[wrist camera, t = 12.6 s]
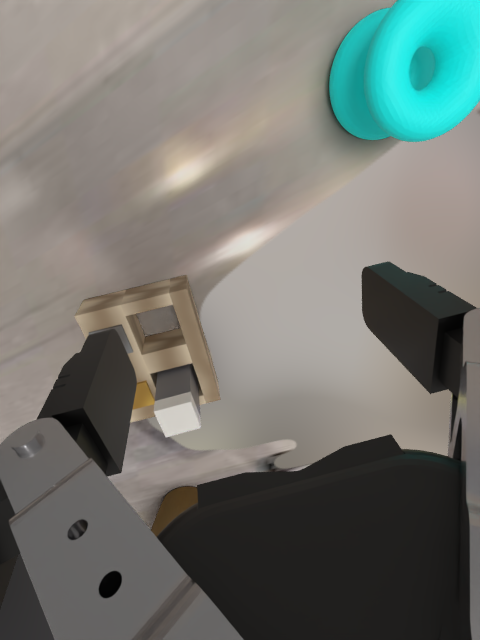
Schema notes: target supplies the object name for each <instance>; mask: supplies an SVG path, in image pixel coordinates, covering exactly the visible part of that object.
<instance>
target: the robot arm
mask: <svg viewBox="0 0 480 640" xmlns="http://www.w3.org/2000/svg"><path fill="white" fill-rule="evenodd" d="M362 312H363V317H364V321H365V323H366V325H367V327H368V328H369V329H370V330H371V332H373V334H374V335H375V336H376V337H377V338H378V339H379V340H380V341H381V342H382V343H383V344H384V345H385V346H386V347H387V348H388V349H389V350H390V352H391V353H392V354H393V355H394V356H395V357H396V358H397V359H398V360H399V361H400V362H401V363H402V364H403V365H404V366H405V367H406V369H407V370H408V371H409V372H410V373H411V374H412V375H413V376H414V377H415V378H416V379H417V380H418V381H419V382H420V383H421V384H422V385H423V387H424V388H425V389H426V390H427V391H428V392H429V393H430V394H431V393H435V392H439V391H443V390H447V389H449V390H450V391H451V392H452V397H451V404H450V424H449V444H448V456H444V455H440V454H437V453H433V452H427V451H421V450H409V449H401V448H400V447H399V445H398V444H397V442H396V441H395V439H394V438H393V436H392V435H387V436H383V437H379V438H375V439H372V440H368V441H364V442H360V443H357V444H352V445H349V446H345V447H343V448H341V449H339V450H337V451H335V452H334V453H332V454H330V455H328V456H326V457H325V458H323V459H321V460H319V461H317V462H315V463H313V464H312V465H310V466H308V467H306V468H304V469H302V470H299V471H292V472H248V473H242V474H238V475H234V476H230V477H227V478H223V479H219V480H215V481H211V482H208V483H204V484H200V485H197V492H198V503H196V504H194V505H192V506H191V507H189V508H188V509H186V510H185V511H183V512H182V513H180V514H179V515H178V516H177V517H176V518H175V519H173V520H172V521H171V522H170V523H169V524H168V525H167V526H166V527H165V528H164V529H163V530H162V531H161V532H160V533H159V535H158V536H157V537H156V536H155V535H154V534H153V532H152V531H151V530H150V529H149V527H148V526H147V525H146V524H145V523H144V521H143V520H142V519H141V518H140V516H139V515H138V514H137V513H136V512H135V510H134V509H133V508H132V507H131V505H130V504H129V503H128V502H127V501H126V499H125V498H124V497H123V496H122V494H121V493H120V492H119V491H118V490H117V488H116V487H115V486H114V485H113V483H112V482H111V481H110V480H109V479H108V477H107V476H111V475H114V474H118V473H121V471H122V466H123V460H124V454H125V449H126V443H127V438H128V432H129V426H130V421H131V415H132V410H133V404H134V398H135V393H136V387H137V379H136V374H135V370H134V367H133V365H132V363H131V361H130V358H129V356H128V354H127V352H126V349H125V347H124V345H123V343H122V341H121V338H120V336H119V334H118V332H117V331H116V330H115V329H109V330H105V331H101V332H97V333H93V334H89V335H88V337H87V339H86V341H85V343H84V345H83V348H82V350H81V352H80V353H76V354H75V355H74V356H73V357H72V358H71V359H70V360H69V361H68V362H67V363H66V364H65V365H64V366H63V368H62V370H61V372H60V374H59V376H58V379H57V380H56V382H55V384H54V386H53V389H52V390H51V392H50V394H49V396H48V398H47V400H46V402H45V404H44V406H43V408H42V410H41V412H40V414H39V416H38V418H37V420H34V421H32V422H29V423H27V424H25V425H23V426H22V427H20V428H18V429H17V430H16V431H14V432H13V433H12V434H10V435H9V436H8V437H7V438H6V439H5V440H4V441H3V442H2V443H1V444H0V608H1V605H2V602H3V599H4V596H5V593H6V590H7V587H8V584H9V581H10V578H11V575H12V572H13V569H14V566H15V563H16V560H17V557H18V554H20V553H21V555H22V558H23V561H24V563H25V566H26V568H27V570H28V573H29V575H30V578H31V581H32V583H33V586H34V588H35V591H36V593H37V596H38V598H39V601H40V604H41V606H42V608H43V611H44V614H45V616H46V619H47V621H48V624H49V626H50V629H51V631H52V633H53V636H54V639H55V640H480V308H476V307H474V306H473V305H471V304H469V303H468V302H466V301H464V300H463V299H461V298H459V297H458V296H456V295H454V294H453V293H451V292H449V291H446V289H444V288H442V287H441V286H439V285H436V283H434V282H433V281H431V280H429V279H427V278H426V277H424V276H421V275H417V274H413V273H410V272H405V271H403V270H402V269H400V268H399V267H397V266H396V265H394V264H392V263H391V262H385V263H381V264H376V265H372V266H368V267H365V268H364V269H363V271H362Z"/></svg>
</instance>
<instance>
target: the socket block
mask: <svg viewBox="0 0 480 640" xmlns="http://www.w3.org/2000/svg"><path fill="white" fill-rule="evenodd" d="M170 305H173V306H174V309H175V312H176V315H177V318H178V321H179V324H180V327H181V328H179V329H175V330H171V331H167V332H163V333H159V334H155V335H150V336H146V337H145V335H144V333H143V330H142V328H141V325H140V323H139V320H138V318H137V316H136V314H137V313H141V312H145V311H149V310H153V309H157V308H161V307H166V306H170ZM75 318H76V320H77V322H78V324H79V326H80V328H81V330H82V332H83V334H84V336H85V338H86V339H87V337H88V335H89V334H93V333H97V332H101V331H105V330H109V329H115V330H116V331H117V332H118V334H119V336H120V338H121V341H122V343H123V345H124V347H125V349H126V352H127V354H128V356H129V358H130V361H131V363H132V365H133V367H134V370H135V374H136V379H137V387H136V393H135V398H134V404H133V410H132V415H131V421H130V423H131V422H135V421H139V420H143V419H147V418H150V417H154V416H155V414H154V403H155V393H156V383H157V374H158V372H159V371H163V370H167V369H171V368H175V367H179V366H183V365H187V364H191V363H193V366H194V369H195V372H196V375H197V378H198V386H199V402H200V405H201V404H205V403H209V402H213V401H217V400H220V393H219V386H218V380H217V376H216V373H215V370H214V366H213V363H212V359H211V356H210V353H209V349H208V346H207V343H206V339H205V336H204V332H203V329H202V326H201V322H200V319H199V316H198V312H197V309H196V306H195V302H194V299H193V296H192V292H191V289H190V286H189V282H188V279H187V275H184V276H180V277H176V278H172V279H168V280H164V281H160V282H155V283H151V284H147V285H143V286H139V287H135V288H131V289H127V290H122V291H118V292H114V293H110V294H106V295H102V296H98V297H94V298H89V299H85V300H84V301H83V302H82V304H81V306H80V308H79V309H78V311H77V313H76V314H75Z"/></svg>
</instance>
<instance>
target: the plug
mask: <svg viewBox="0 0 480 640" xmlns="http://www.w3.org/2000/svg"><path fill="white" fill-rule="evenodd" d="M154 414H155V416H156V418H157V420H158V422H159V424H160V426H161V428H162V430H163V432H164V434H165V437H169V436H173V435H177V434H180V433H184V432H188V431H191V430H195V429H199V428H201V418H200V402H199V386H198V378H197V375H196V372H195V369H194V366H193V363H191V364H187V365H183V366H179V367H175V368H171V369H167V370H163V371H159V372H158V374H157V383H156V393H155V403H154Z"/></svg>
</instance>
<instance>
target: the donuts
mask: <svg viewBox="0 0 480 640" xmlns="http://www.w3.org/2000/svg"><path fill="white" fill-rule="evenodd" d="M329 92H330V100H331V105H332V108H333V111H334V114H335V116H336V118H337V119H338V121H339V123H340V124H341V125H342V126H343V127H344V128H345V129H346V130H347V131H348V132H349V133H351V134H352V135H354V136H356V137H358V138H361V139H366V140H379V139H384V138H387V137H390V136H392V137H394V138H396V139H399V140H402V141H408V142H419V141H426V140H430V139H433V138H435V137H438V136H440V135H442V134H444V133H446V132H448V131H449V130H451V129H452V128H454V127H455V126H456V125H458V124H459V123H460V122H461V121H462V120H463V119H464V118H465V117H466V116H467V115H468V114H469V113H470V112H471V111H472V110H473V109H474V107H475V106H476V105H477V103H478V102H479V101H480V0H397V1H396V2H395V4H394V5H393V6H392V7H391V8H385V9H381V10H378V11H375V12H373V13H371V14H369V15H368V16H366V17H365V18H363V19H362V20H361V21H359V22H358V23H357V24H356V25H355V26H354V27H353V28H352V29H351V30H350V32H349V33H348V34H347V35H346V37H345V38H344V40H343V41H342V43H341V45H340V47H339V49H338V51H337V53H336V56H335V58H334V61H333V64H332V68H331V73H330V82H329Z"/></svg>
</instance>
